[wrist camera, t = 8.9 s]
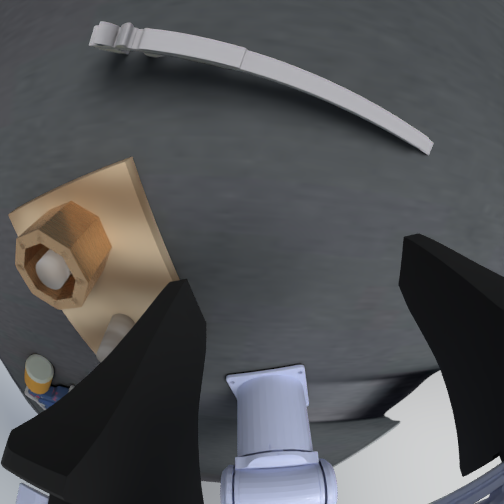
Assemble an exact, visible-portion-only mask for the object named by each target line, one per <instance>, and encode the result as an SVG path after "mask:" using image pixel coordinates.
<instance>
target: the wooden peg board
mask: <svg viewBox="0 0 504 504" xmlns="http://www.w3.org/2000/svg"><path fill="white" fill-rule="evenodd" d="M69 201H73V202H74V203H76V204H78V205H80V206H81V207H83V208H85V209H87V210H88V211H90V212H92V213H94V214H95V215H97V216H98V217H99V218H100V221H101V223H102V225H103V228H104V230H105V232H106V234H107V236H108V239H109V241H110V243H111V245H112V248H111V251H110V254H109V257H108V259H107V262H106V265H105V268H104V270H103V272H102V274H101V275H100V277H99V279H98V280H97V282H96V283H95V285H94V287H93V289H92V290H91V292H90V294H89V295H88V297H87V299H86V301H85V302H84V304H83V306H82V307H78V308H70V309H62V311H63V312H64V314H65V315H66V317H67V318H68V319H69V321H70V322H71V324H72V325H73V326H74V328H75V329H76V330H77V332H78V333H79V334H80V336H81V337H82V338H83V339H84V341H85V342H86V343H87V344H88V346H89V347H90V348H91V349H92V351H93V352H94V353H95V354H96V357H97V359H98V360H99V361H100V362H102V361H103V360H104V359H105V358H106V357H107V356H108V355H109V354H110V353H111V352H112V350H113V349H114V348H115V347H116V346H117V345H118V344H119V342H120V341H121V340H122V339H123V338H124V336H125V335H126V334H127V333H128V332H129V331H130V329H131V328H132V327H133V326H134V325H135V324H136V322H137V321H138V320H139V318H140V317H141V316H142V315H143V313H144V312H145V311H146V310H147V309H148V307H149V306H150V305H151V303H152V302H153V301H154V300H155V298H156V297H157V296H158V295H159V294H160V292H161V291H162V290H163V289H164V288H165V286H166V285H167V284H168V283H169V282H172V281H177V280H180V279H179V277H178V275H177V273H176V270H175V268H174V266H173V263H172V261H171V259H170V256H169V254H168V251H167V249H166V247H165V244H164V242H163V239H162V237H161V234H160V232H159V229H158V227H157V224H156V222H155V219H154V216H153V214H152V211H151V208H150V206H149V203H148V200H147V198H146V195H145V192H144V189H143V187H142V184H141V181H140V178H139V175H138V172H137V169H136V167H135V164H134V161H133V158H132V157H130V158H127V159H124V160H122V161H119V162H116V163H114V164H111V165H108V166H106V167H103V168H101V169H98V170H96V171H93V172H91V173H89V174H86V175H84V176H82V177H79V178H77V179H75V180H72V181H70V182H68V183H66V184H64V185H61V186H59V187H57V188H55V189H53V190H51V191H49V192H47V193H45V194H43V195H41V196H39V197H37V198H35V199H33V200H31V201H29V202H27V203H25V204H23V205H22V206H20V207H18V208H16V209H15V210H14V211H12V212H11V213H10V214H9V218H10V220H11V222H12V224H13V226H14V229H15V231H16V233H17V235H18V237H19V236H20V235H21V234H22V233H23V232H24V231H25V230H26V229H28V228H29V227H30V226H31V225H32V224H33V223H34V222H35V221H37V220H38V219H39V218H40V217H41V216H42V215H43V214H45V213H46V212H47V211H48V210H50V209H52V208H54V207H57V206H59V205H62V204H64V203H67V202H69ZM36 272H37V275H38V277H39V279H40V280H41V281H42V283H43V284H45V285H46V286H47V287H49V288H51V289H55V290H57V289H60V288H61V287H62V286H63V284H64V283H65V282H66V280H67V279H68V277H69V276H70V274H71V271H70V270H69V268H68V266H67V264H66V262H65V260H64V259H63V257H62V256H60V255H59V254H57V253H56V252H54V251H52V250H51V249H49V250H48V251H47V252H46V253H45V254H44V255H43V257H42V258H41V259H40V260H39V261H38V262H37V264H36Z"/></svg>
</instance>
